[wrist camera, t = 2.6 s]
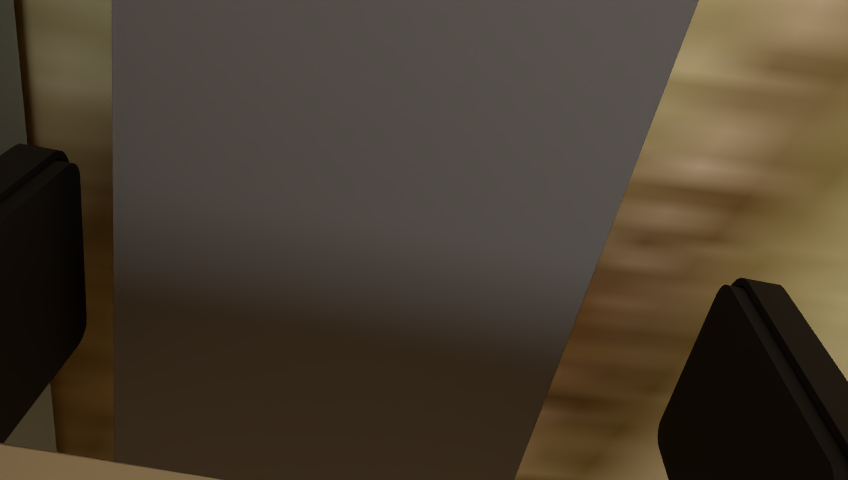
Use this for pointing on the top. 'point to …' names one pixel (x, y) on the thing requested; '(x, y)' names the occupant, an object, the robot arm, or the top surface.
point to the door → (3, 130)
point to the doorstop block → (363, 223)
